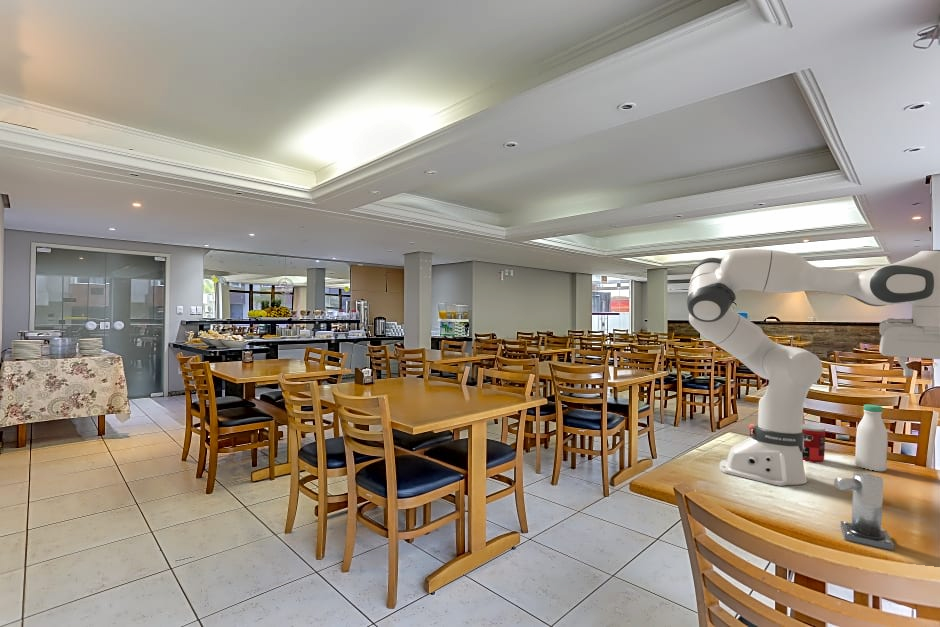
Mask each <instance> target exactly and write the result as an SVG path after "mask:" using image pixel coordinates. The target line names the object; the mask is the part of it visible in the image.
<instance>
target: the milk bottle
mask: <svg viewBox="0 0 940 627" xmlns="http://www.w3.org/2000/svg"><path fill="white" fill-rule="evenodd" d="M882 414H883V406H880V405H877V404H866V403H865V404H863V416H862V418H861V420H860V421H859V423H858V425H857V427H856V435H855V436H856V437H855V454H854V455H855V460H854V464H855V466H856V467H858V468H860V467H862V468H861V469H863V468H865V469H864V470H867V469H869V470H868V471H872V470H874V471H873V472H885V471H886V470H887V467H888V443H889V442H888V437H889V436H888V430H887V428H886V425H885V423H884V421H883V419H882Z"/></svg>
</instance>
